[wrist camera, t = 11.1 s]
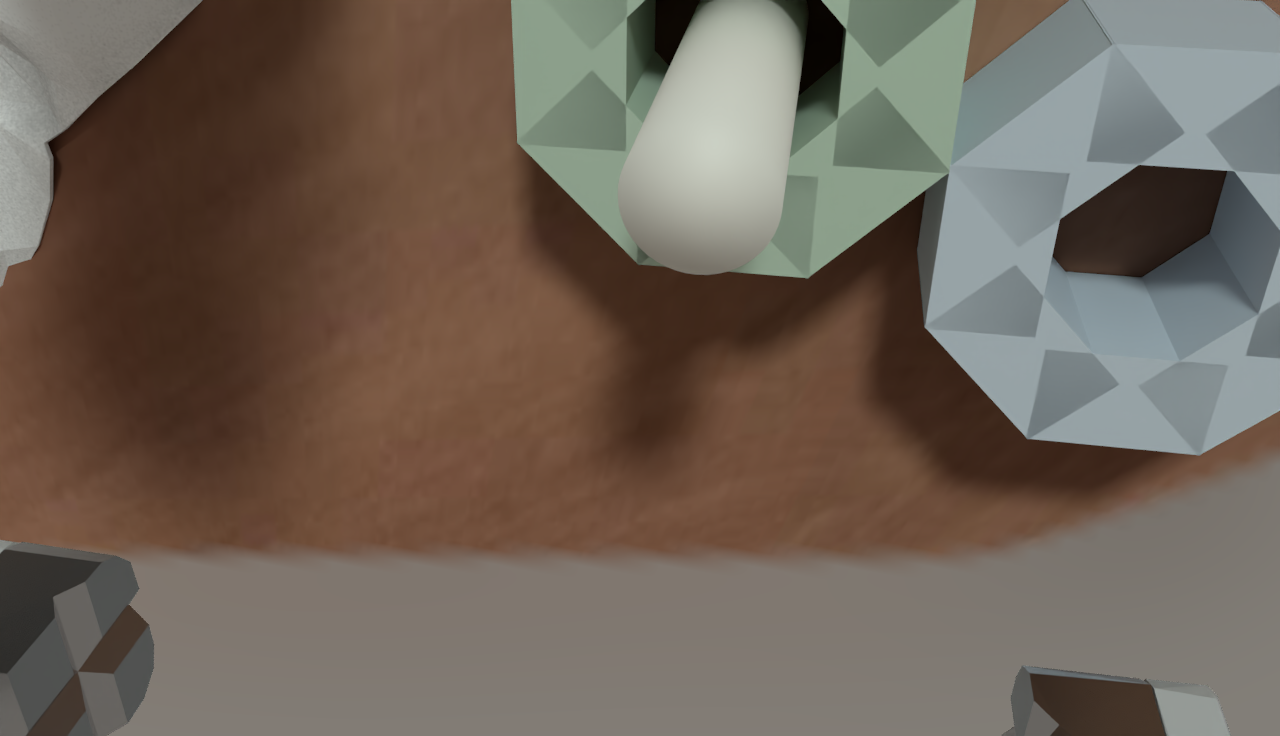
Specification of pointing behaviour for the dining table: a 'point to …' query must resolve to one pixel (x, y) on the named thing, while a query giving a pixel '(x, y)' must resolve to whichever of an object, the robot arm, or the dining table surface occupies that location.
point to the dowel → (718, 138)
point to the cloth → (59, 91)
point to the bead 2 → (1072, 174)
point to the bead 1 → (823, 129)
